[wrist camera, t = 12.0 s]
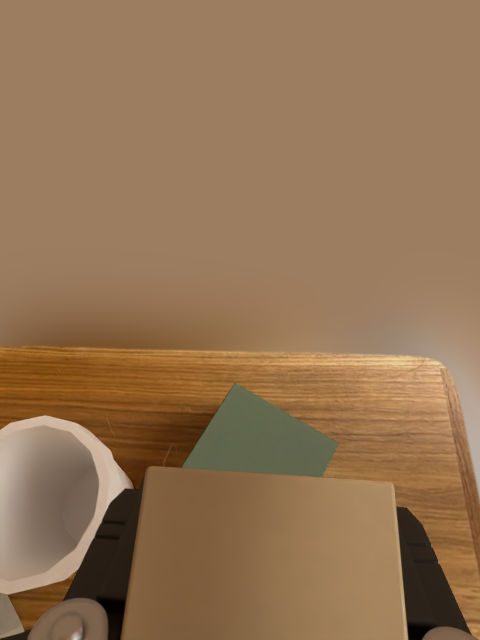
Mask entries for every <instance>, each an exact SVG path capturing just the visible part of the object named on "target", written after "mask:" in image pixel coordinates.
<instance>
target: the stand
mask: <svg viewBox="0 0 480 640" xmlns="http://www.w3.org/2000/svg"><path fill="white" fill-rule="evenodd" d="M337 446H338V442H336V441H334V440H333V439H331V438H329V437H327V436H326V435H324V434H322V433H321V432H319V431H317V430H315V429H314V428H312V427H310V426H308V425H307V424H305V423H303V422H302V421H300V420H298V419H296V418H295V417H293V416H291V415H289V414H288V413H286V412H284V411H283V410H281V409H279V408H277V407H276V406H274V405H272V404H270V403H269V402H267V401H265V400H264V399H262V398H260V397H258V396H257V395H255V394H253V393H252V392H250V391H248V390H246V389H245V388H243V387H241V386H239V385H238V384H236V383H234V385H233V387H232V388H231V390H230V391H229V393H228V394H227V396H226V398H225V399H224V401H223V402H222V404H221V406H220V407H219V409H218V410H217V412H216V413H215V415H214V417H213V418H212V420H211V421H210V423H209V425H208V426H207V428H206V429H205V431H204V433H203V434H202V436H201V437H200V439H199V440H198V442H197V444H196V445H195V447H194V448H193V450H192V452H191V453H190V455H189V456H188V458H187V459H186V461H185V463H184V464H183V466H182V467H181V468H190V469H205V470H221V471H236V472H252V473H267V474H283V475H298V476H314V477H322V476H323V474H324V472H325V470H326V468H327V466H328V464H329V462H330V460H331V458H332V456H333V454H334V452H335V450H336V448H337Z"/></svg>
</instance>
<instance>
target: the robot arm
mask: <svg viewBox="0 0 480 640" xmlns="http://www.w3.org/2000/svg"><path fill="white" fill-rule="evenodd" d="M144 480H145V476H144V479H143V481H142V484H141V486H140V489H127V488H125V489H124V490H123V491H122V492H121V493H120V494H119V495H118V496H117V497H116V498H115V499H114V500H112V501H111V502H110V504H109V506H108V508H107V510H106V512H105V515H104V517H103V519H102V523H101V524H100V525H99V527H98V529H97V531H96V533H95V538H93V540H92V542H91V544H90V546H89V548H88V550H87V552H86V554H85V556H84V559H83V561H82V563H81V565H80V567H79V569H78V571H77V573H76V575H75V577H74V579H73V582H72V584H71V586H70V588H69V590H68V592H67V594H66V596H65V598H64V600H63V601H62V602H61V603H59V604H57V605H55V606H53V607H52V608H51V609H49V610H48V611H47V612H45V613H44V614H43V615H42V616H41V617H40V618H39V620H38V621H37V622H36V623H35V625H34V626H33V628H32V629H29V630H27V631H25V632H22V633H19V634H16V635H12V636H8V637H4V638H0V640H120V637H121V631H122V624H123V617H124V611H125V604H126V598H127V591H128V585H129V578H130V572H131V565H132V559H133V552H134V545H135V539H136V532H137V526H138V519H139V513H140V506H141V500H142V493H143V486H144ZM396 509H397V521H398V532H399V543H400V554H401V565H402V576H403V587H404V598H405V609H406V620H407V631H408V640H478V639H477V638H475V637H474V636H472V634H471V633H470V631H469V629H468V627H467V624H466V622H465V620H464V618H463V615H462V613H461V611H460V609H459V606H458V604H457V602H456V600H455V597H454V595H453V593H452V591H451V588H450V586H449V584H448V582H447V579H446V577H445V575H444V573H443V570H442V568H441V566H440V564H438V559H437V557H436V555H435V552H434V550H433V548H431V543H430V541H429V539H428V537H427V534H426V532H425V530H424V528H423V525H422V524H421V523H420V522H419V521H418V520H417V519H416V517H415V516H414V515H413V514H412V513H411V512H410V511H409V510H408V509H407V508H404V507H396Z"/></svg>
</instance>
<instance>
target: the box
mask: <svg viewBox="0 0 480 640" xmlns="http://www.w3.org/2000/svg"><path fill="white" fill-rule="evenodd" d="M22 632H24V628H23V626H22V624H21V622H20V619H19V617H18V615H17V613H16V611H15V609H14V607H13V605H12V603H11V601H10V599H9V597H8V596H7V594H3V593H0V638H4V637H8V636H12V635H16V634H19V633H22Z"/></svg>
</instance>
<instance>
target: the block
mask: <svg viewBox="0 0 480 640" xmlns="http://www.w3.org/2000/svg"><path fill="white" fill-rule="evenodd" d="M120 640H408V631H407V620H406V609H405V598H404V587H403V576H402V565H401V554H400V543H399V532H398V521H397V509H396V498H395V487H394V485H393V483H391V482H389V481H376V480H361V479H345V478H329V477H314V476H298V475H283V474H267V473H252V472H236V471H221V470H205V469H190V468H174V467H159V466H151V467H148V468H147V470H146V473H145V480H144V486H143V493H142V500H141V506H140V513H139V519H138V526H137V532H136V539H135V545H134V552H133V559H132V565H131V572H130V578H129V585H128V591H127V598H126V604H125V611H124V617H123V624H122V631H121V637H120Z"/></svg>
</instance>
